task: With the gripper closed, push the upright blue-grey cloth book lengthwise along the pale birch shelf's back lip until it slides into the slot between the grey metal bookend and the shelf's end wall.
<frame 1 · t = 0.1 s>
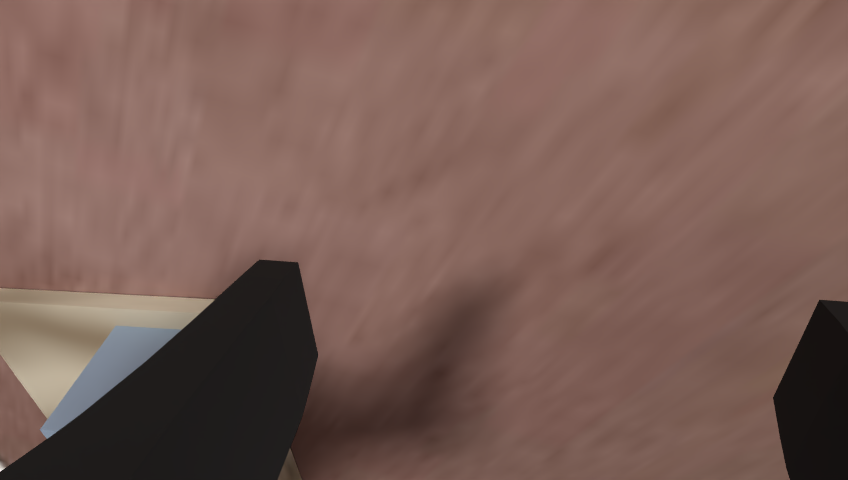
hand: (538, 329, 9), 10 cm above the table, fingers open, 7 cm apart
book: (185, 391, 28), point 1 cm above the table, touching shelf
shelf: (178, 437, 32), on the table
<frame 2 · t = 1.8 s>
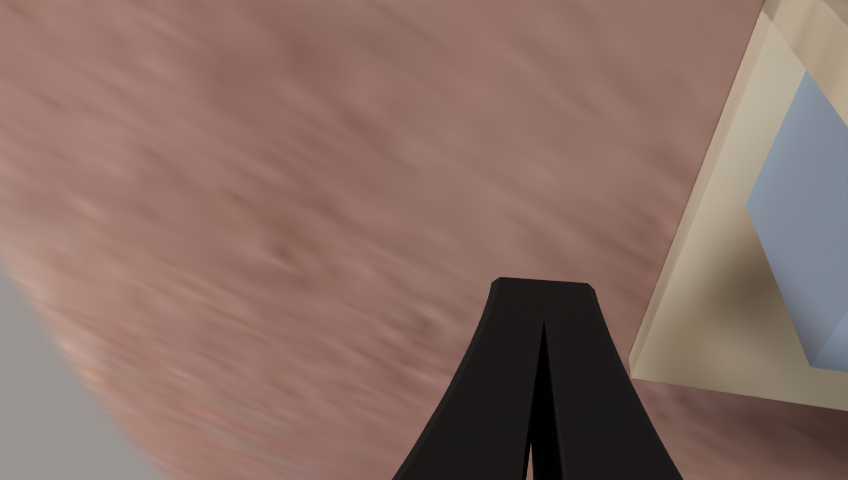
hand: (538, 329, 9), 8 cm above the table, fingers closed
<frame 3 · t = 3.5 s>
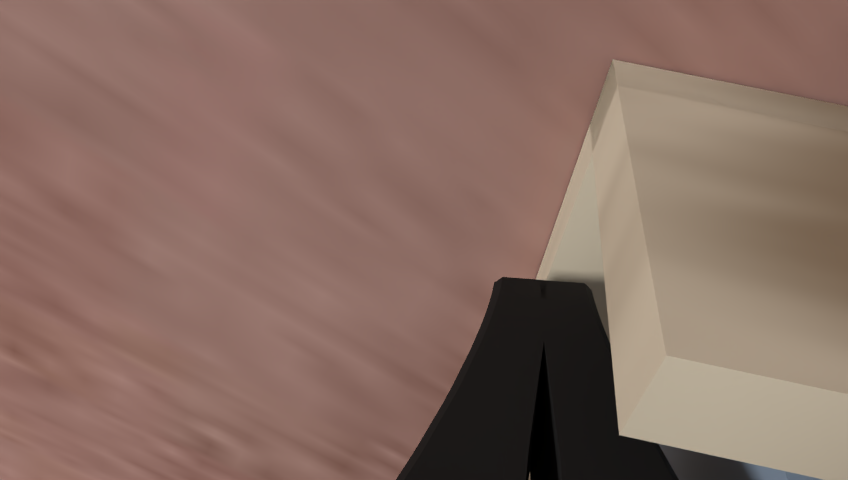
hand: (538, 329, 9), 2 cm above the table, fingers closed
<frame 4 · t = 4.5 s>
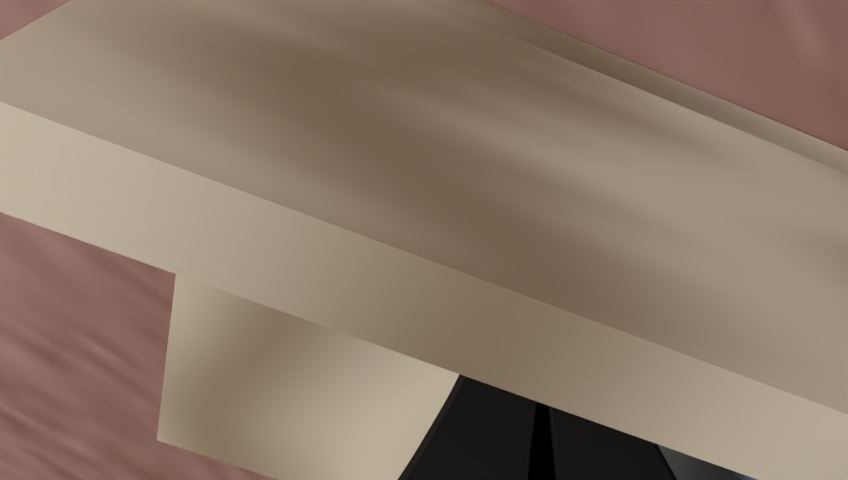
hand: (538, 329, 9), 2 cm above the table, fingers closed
shelf: (681, 413, 13), on the table
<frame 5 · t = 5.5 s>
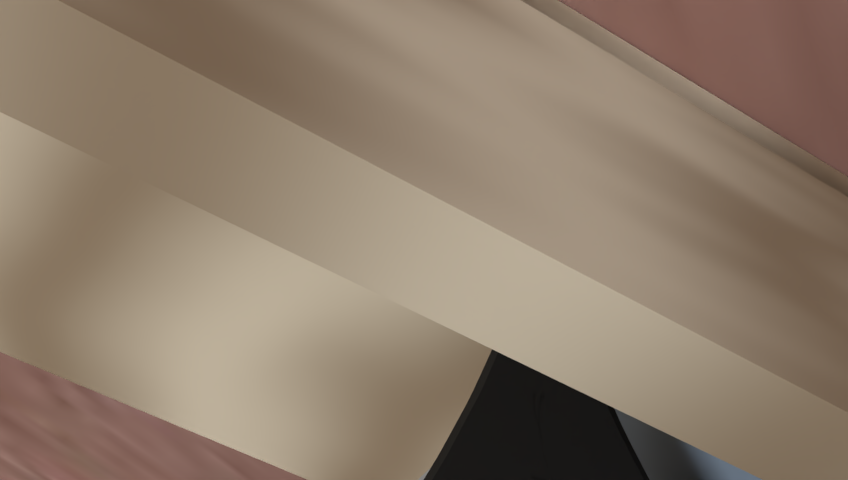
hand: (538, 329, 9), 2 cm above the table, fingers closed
shelf: (519, 354, 12), on the table
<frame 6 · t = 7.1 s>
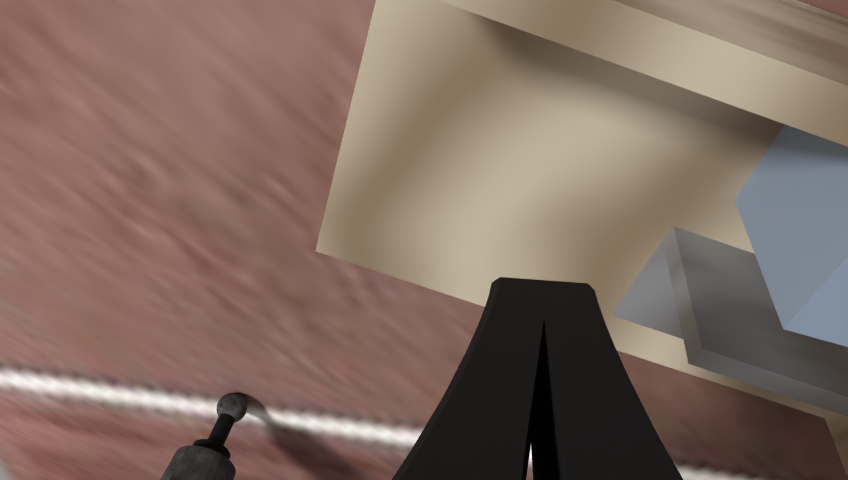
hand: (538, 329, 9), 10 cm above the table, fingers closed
microphone: (239, 392, 29), on the table
shelf: (678, 197, 19), on the table
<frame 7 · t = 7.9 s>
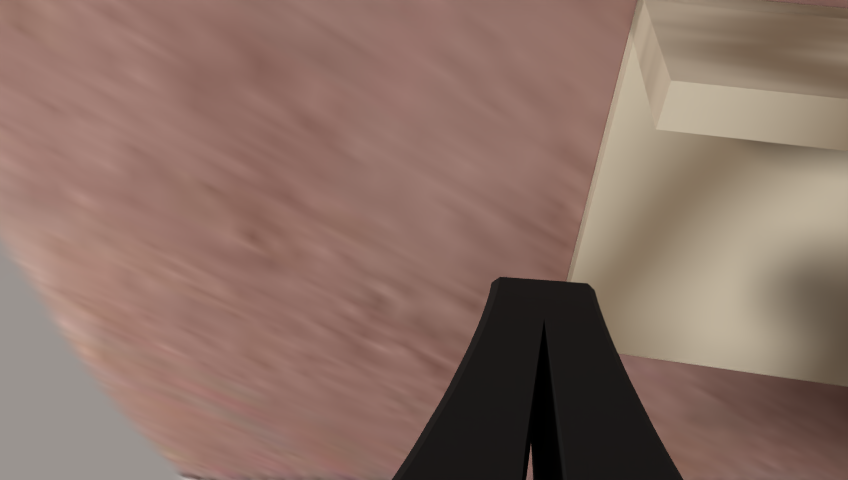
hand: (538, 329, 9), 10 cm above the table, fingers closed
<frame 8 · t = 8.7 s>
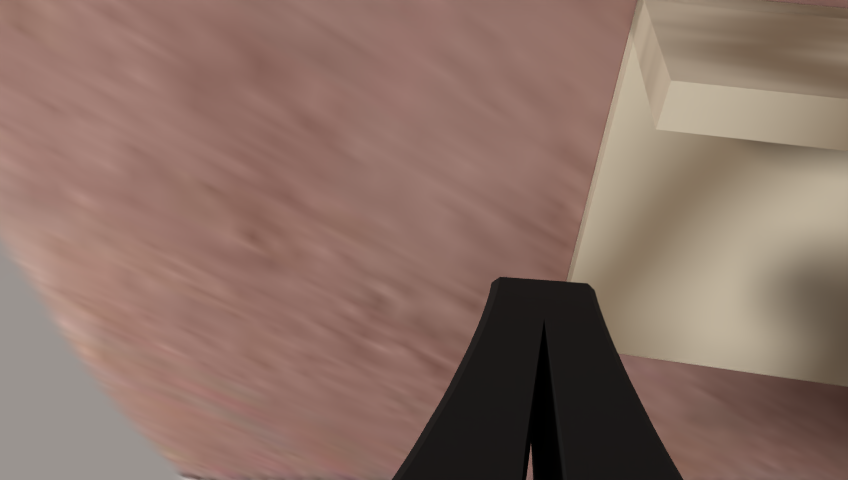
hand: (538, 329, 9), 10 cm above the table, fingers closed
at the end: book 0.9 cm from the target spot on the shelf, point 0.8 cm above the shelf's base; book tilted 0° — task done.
